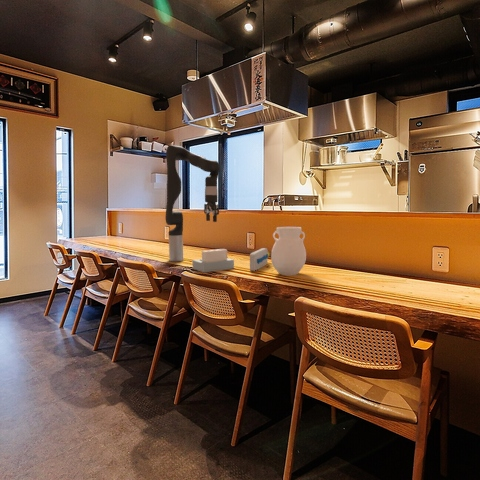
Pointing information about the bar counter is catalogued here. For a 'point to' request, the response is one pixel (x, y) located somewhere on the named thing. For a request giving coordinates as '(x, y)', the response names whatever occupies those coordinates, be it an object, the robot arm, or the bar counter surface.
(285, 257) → the white vase
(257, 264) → the decorative sign
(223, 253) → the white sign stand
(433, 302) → the bar counter surface
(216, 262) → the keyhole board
